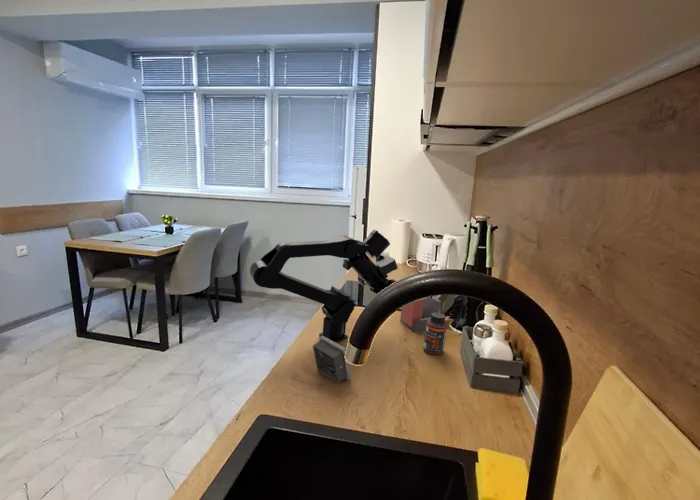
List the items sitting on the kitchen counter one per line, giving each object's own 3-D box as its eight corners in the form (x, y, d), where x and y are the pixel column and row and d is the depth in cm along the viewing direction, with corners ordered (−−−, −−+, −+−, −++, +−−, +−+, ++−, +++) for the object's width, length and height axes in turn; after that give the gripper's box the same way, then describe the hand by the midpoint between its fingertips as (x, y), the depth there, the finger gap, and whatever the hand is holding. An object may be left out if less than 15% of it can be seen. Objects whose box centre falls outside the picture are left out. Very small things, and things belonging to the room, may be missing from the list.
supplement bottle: (422, 353, 110) (427, 316, 107) (423, 344, 115) (428, 309, 113) (443, 357, 108) (448, 320, 106) (443, 348, 114) (448, 312, 112)
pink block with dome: (410, 327, 124) (414, 295, 122) (400, 320, 130) (403, 289, 127) (421, 325, 126) (425, 294, 124) (411, 318, 132) (414, 288, 129)
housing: (416, 332, 124) (420, 303, 122) (400, 321, 132) (403, 293, 130) (437, 329, 127) (441, 301, 125) (419, 318, 136) (423, 291, 134)
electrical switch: (351, 379, 93) (352, 346, 91) (336, 389, 90) (336, 354, 87) (326, 364, 100) (326, 332, 97) (311, 372, 96) (310, 339, 94)
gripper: (400, 256, 108) (426, 290, 116) (368, 242, 125) (393, 273, 132) (373, 284, 106) (402, 317, 114) (345, 267, 123) (372, 296, 130)
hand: (392, 299), depth 122 cm, fingers closed
